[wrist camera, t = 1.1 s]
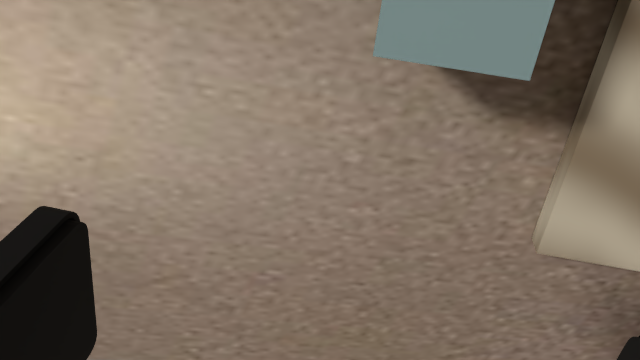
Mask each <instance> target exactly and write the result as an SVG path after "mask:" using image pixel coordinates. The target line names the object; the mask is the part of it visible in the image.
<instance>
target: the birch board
mask: <svg viewBox="0 0 640 360" xmlns="http://www.w3.org/2000/svg"><path fill="white" fill-rule="evenodd" d="M532 241H533V244H534V247H535V250H536V253H538V254H544V255H549V256H555V257H561V258H566V259H572V260H577V261H583V262H589V263H594V264H600V265H605V266H611V267H617V268H622V269H628V270H634V271H639V272H640V0H618V2H617V5H616V7H615V10H614V13H613V16H612V18H611V21H610V24H609V27H608V29H607V32H606V35H605V38H604V40H603V43H602V46H601V49H600V51H599V54H598V57H597V60H596V62H595V65H594V68H593V71H592V73H591V76H590V79H589V82H588V84H587V87H586V90H585V93H584V95H583V98H582V101H581V104H580V106H579V109H578V112H577V115H576V117H575V120H574V123H573V126H572V128H571V131H570V134H569V137H568V139H567V142H566V145H565V148H564V150H563V153H562V156H561V159H560V161H559V164H558V167H557V170H556V172H555V175H554V178H553V181H552V183H551V186H550V189H549V192H548V194H547V197H546V200H545V203H544V205H543V208H542V211H541V214H540V216H539V219H538V222H537V225H536V227H535V230H534V233H533V236H532Z"/></svg>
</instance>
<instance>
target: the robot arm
mask: <svg viewBox="0 0 640 360" xmlns="http://www.w3.org/2000/svg"><path fill="white" fill-rule="evenodd" d="M96 337H97V327H96V315H95V304H94V293H93V282H92V271H91V259H90V248H89V237H88V228H87V225H86V224H85V223H83V222H80V219H79V216H78V215H77V213H75V212H71V211H66V210H61V209H57V208H52V207H47V206H41V207H39V208H37V209H36V210H34V211H33V212H32V213H31V214H30V215H29V216H28V217H27V218H26V219H25V220H23V221H22V222H21V223H20V224H19V225H18V226H17V227H16V228H15V229H14V230H12V231H11V232H10V233H9V234H8V235H7V236H6V237H5V238H4V239H3V240H1V241H0V360H86V359H87V358H88V356H89V355H90V353H91V352H92V350H93V347H94V345H95V342H96ZM617 360H640V336H639V337H632V338H630V339H629V340H628V342H627V343H626V345H625V346H624V348H623V350H622V352H621V353H620V355H619V357H618V358H617Z"/></svg>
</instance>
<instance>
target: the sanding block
mask: <svg viewBox="0 0 640 360" xmlns="http://www.w3.org/2000/svg"><path fill="white" fill-rule="evenodd" d="M554 2H555V0H382V5H381V10H380V16H379V22H378V28H377V34H376V40H375V46H374V52H373V56H376V57H382V58H389V59H395V60H401V61H408V62H414V63H420V64H426V65H433V66H439V67H445V68H452V69H458V70H464V71H470V72H477V73H483V74H489V75H496V76H502V77H508V78H514V79H521V80H527V81H530V79H531V75H532V72H533V69H534V66H535V63H536V59H537V56H538V53H539V50H540V47H541V44H542V40H543V37H544V34H545V31H546V28H547V25H548V21H549V18H550V15H551V12H552V9H553V5H554Z"/></svg>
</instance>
